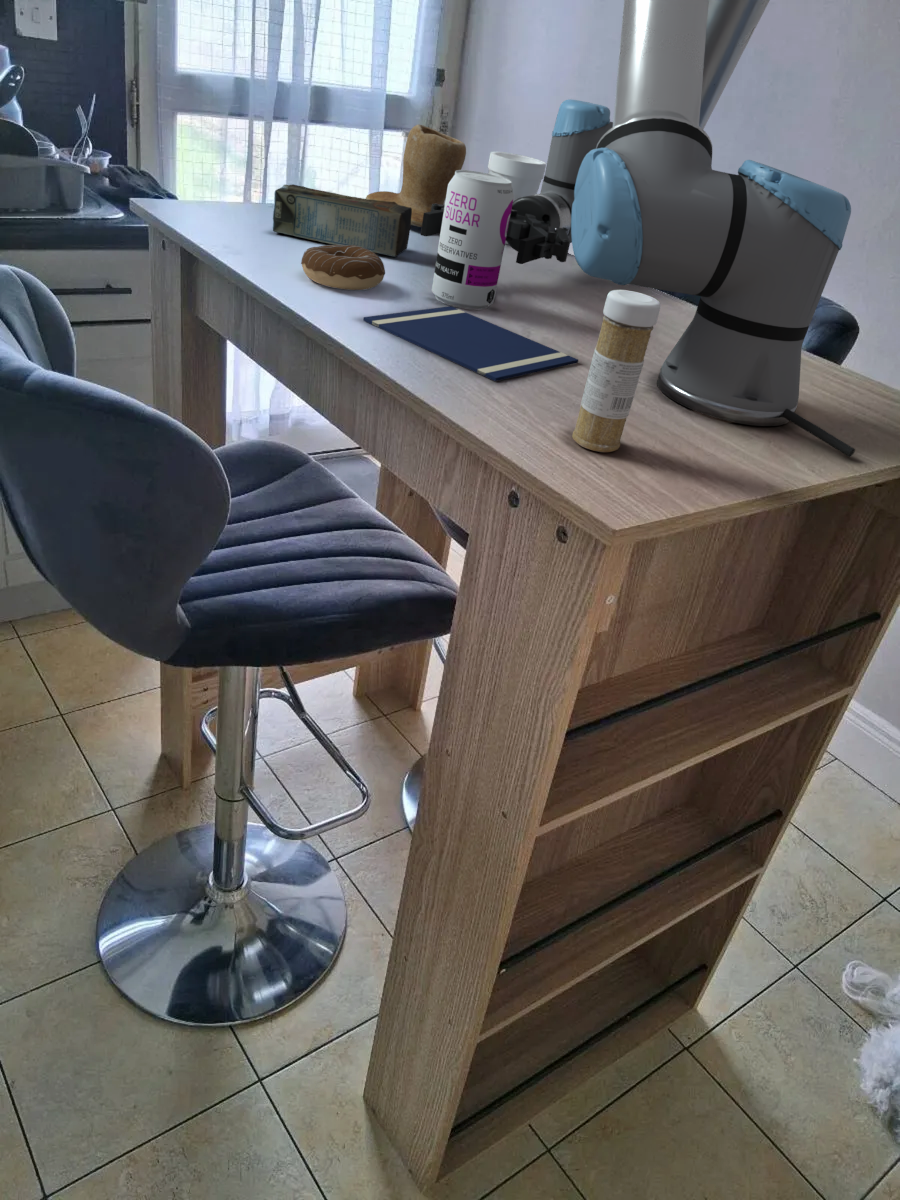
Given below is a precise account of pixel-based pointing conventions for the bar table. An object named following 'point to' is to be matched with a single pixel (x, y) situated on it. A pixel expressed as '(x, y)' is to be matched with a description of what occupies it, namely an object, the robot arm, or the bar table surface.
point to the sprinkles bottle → (615, 369)
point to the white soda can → (472, 239)
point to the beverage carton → (342, 219)
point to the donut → (343, 267)
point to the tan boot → (425, 171)
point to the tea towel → (472, 342)
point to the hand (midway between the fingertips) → (471, 238)
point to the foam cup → (518, 172)
